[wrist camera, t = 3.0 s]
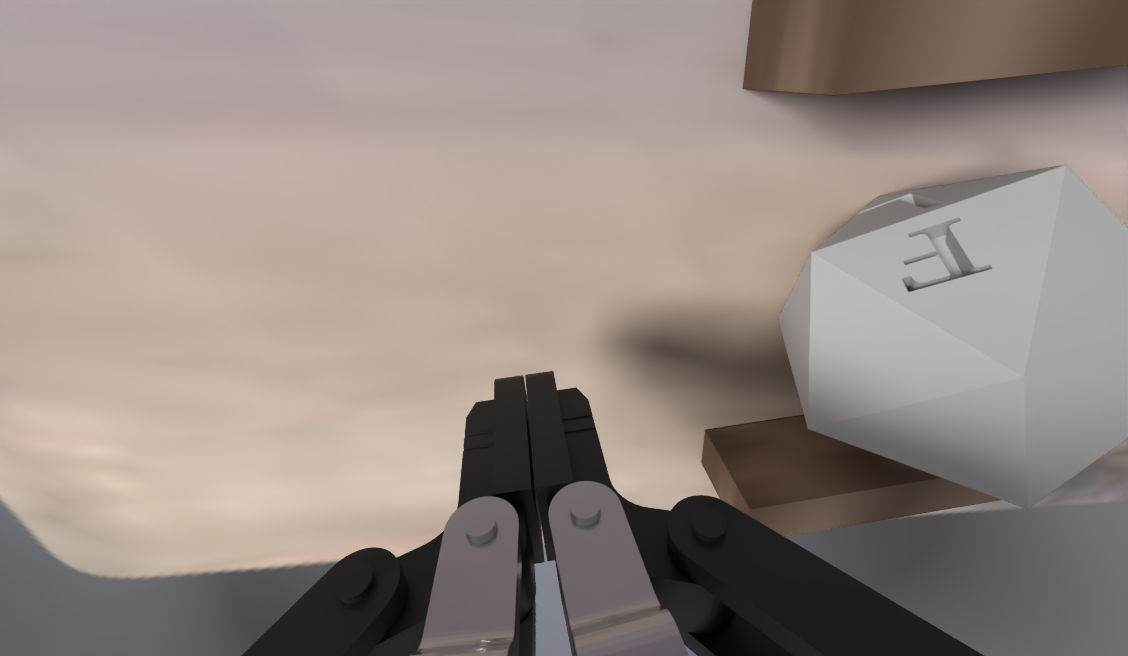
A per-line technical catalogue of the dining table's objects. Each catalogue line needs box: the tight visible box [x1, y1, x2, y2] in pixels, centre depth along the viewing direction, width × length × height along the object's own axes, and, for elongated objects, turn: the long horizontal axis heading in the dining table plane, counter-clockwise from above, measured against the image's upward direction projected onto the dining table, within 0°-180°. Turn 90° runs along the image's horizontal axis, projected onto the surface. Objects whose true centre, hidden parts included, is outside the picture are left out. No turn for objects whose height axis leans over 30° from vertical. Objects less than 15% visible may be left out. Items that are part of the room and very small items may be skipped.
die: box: [778, 165, 1128, 509], centre depth 13 cm, size 8×9×10 cm
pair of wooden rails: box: [702, 0, 1128, 537], centre depth 14 cm, size 12×17×4 cm
